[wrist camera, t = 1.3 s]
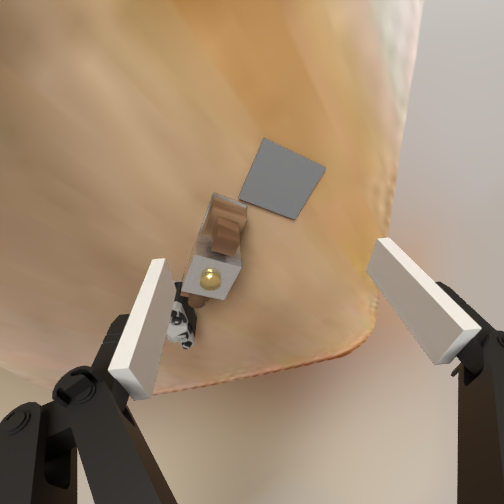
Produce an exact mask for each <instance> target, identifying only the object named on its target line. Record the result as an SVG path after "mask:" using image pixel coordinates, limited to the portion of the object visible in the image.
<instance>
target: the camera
mask: <svg viewBox="0 0 504 504" xmlns="http://www.w3.org/2000/svg"><path fill="white" fill-rule="evenodd" d="M182 283H183V281H174V284H175V287H176V295H175V299H174V303H173V308H172V312H171V316H170V320H169V325H168V329H167V333H166V336H167V338H168V340H169V341H171V342H177V341H178V342H179V343H180V345H181V346H182V347H183V348H184V349H189V348H190V347H192V346H193V345H194V340H195V330H196V321H197V316H196V313H195V310H194V308H193V307H191V306H189V304H188V298H189V297H185V296H180V294H181V288H182Z"/></svg>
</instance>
